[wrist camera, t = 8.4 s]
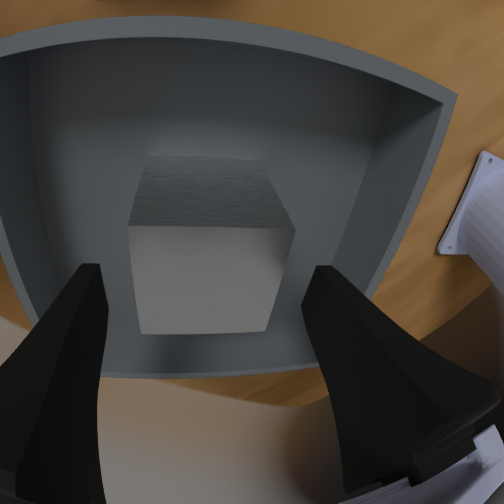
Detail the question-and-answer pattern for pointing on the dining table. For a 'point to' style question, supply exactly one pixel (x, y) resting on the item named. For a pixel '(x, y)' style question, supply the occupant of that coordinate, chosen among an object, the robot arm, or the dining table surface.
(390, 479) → the robot arm
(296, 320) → the tote
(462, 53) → the dining table surface
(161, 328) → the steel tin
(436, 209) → the dining table surface
